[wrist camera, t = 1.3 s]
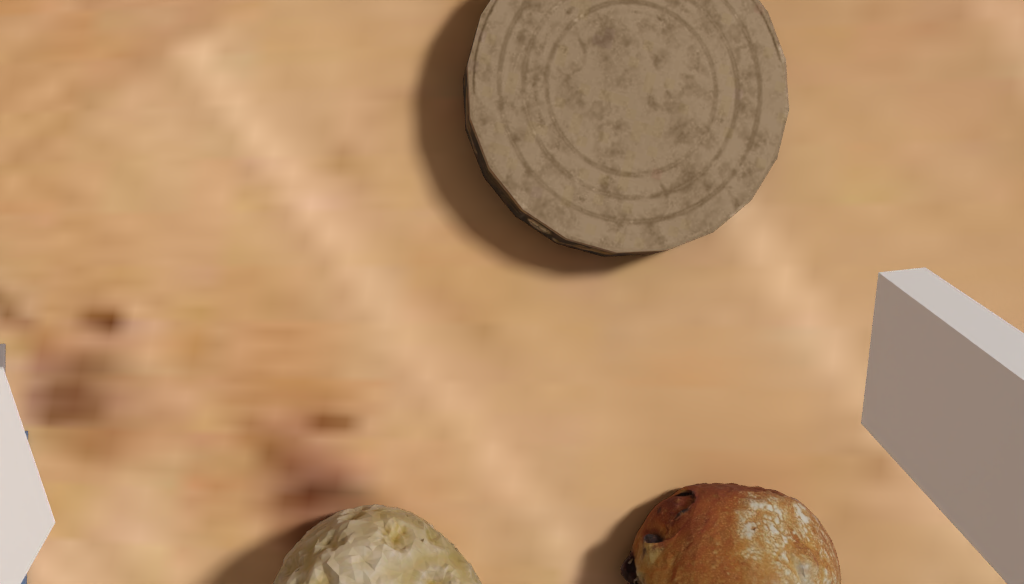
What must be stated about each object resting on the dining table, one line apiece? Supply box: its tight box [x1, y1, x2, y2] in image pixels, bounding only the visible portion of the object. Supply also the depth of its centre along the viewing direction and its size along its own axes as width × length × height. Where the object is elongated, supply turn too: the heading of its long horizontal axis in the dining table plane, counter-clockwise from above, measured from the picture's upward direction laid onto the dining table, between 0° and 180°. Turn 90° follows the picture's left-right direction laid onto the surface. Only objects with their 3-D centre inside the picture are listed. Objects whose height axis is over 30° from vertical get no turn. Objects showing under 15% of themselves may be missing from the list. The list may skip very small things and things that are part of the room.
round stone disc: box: [463, 0, 789, 256], centre depth 43 cm, size 16×16×3 cm
